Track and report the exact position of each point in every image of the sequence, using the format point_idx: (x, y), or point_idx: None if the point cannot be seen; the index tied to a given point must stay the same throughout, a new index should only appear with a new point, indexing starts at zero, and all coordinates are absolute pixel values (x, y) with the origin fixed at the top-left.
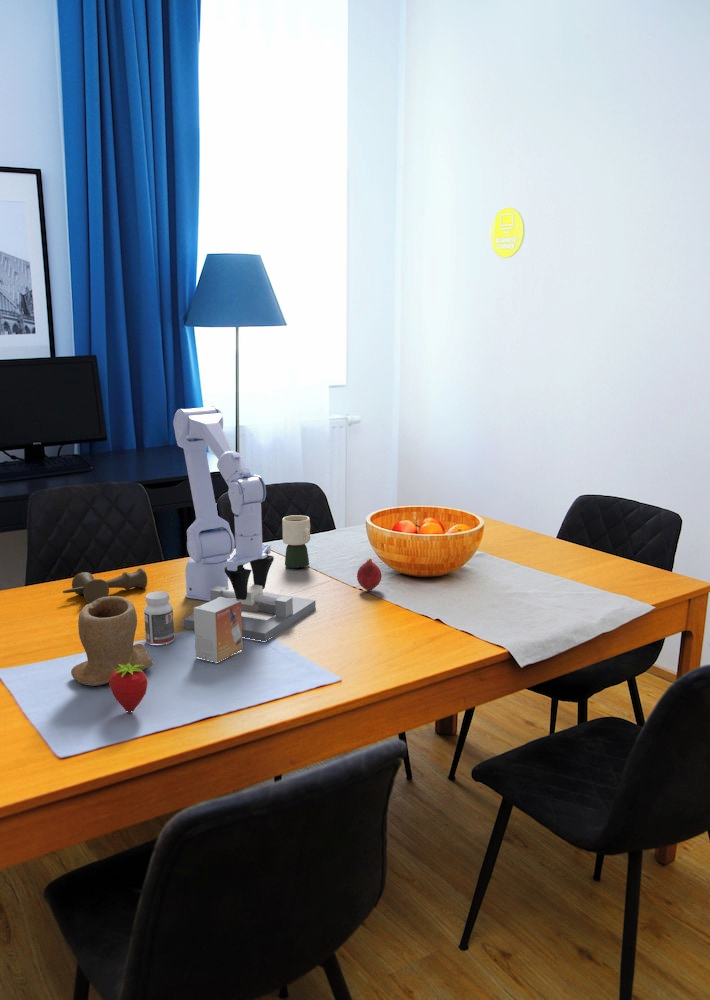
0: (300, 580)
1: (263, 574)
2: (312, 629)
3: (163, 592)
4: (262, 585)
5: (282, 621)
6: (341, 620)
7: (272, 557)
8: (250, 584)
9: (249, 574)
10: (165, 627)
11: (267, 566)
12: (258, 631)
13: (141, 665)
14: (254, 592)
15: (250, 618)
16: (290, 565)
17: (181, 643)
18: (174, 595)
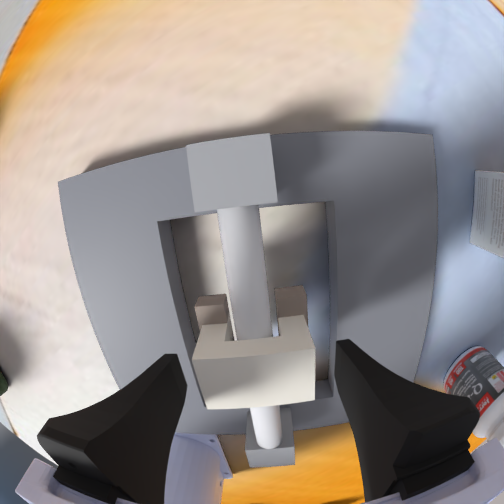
0: (8, 337)
1: (148, 402)
2: (236, 60)
3: (501, 441)
4: (172, 367)
5: (309, 134)
6: (123, 48)
7: (49, 439)
8: (213, 407)
9: (400, 414)
10: (501, 365)
11: (115, 420)
12: (430, 164)
13: None
14: (277, 347)
15: (344, 270)
16: (1, 379)
17: (470, 330)
18: (232, 484)
